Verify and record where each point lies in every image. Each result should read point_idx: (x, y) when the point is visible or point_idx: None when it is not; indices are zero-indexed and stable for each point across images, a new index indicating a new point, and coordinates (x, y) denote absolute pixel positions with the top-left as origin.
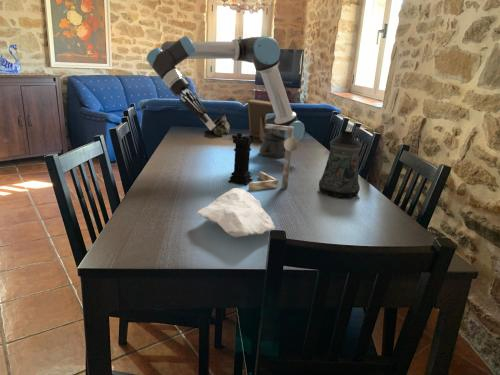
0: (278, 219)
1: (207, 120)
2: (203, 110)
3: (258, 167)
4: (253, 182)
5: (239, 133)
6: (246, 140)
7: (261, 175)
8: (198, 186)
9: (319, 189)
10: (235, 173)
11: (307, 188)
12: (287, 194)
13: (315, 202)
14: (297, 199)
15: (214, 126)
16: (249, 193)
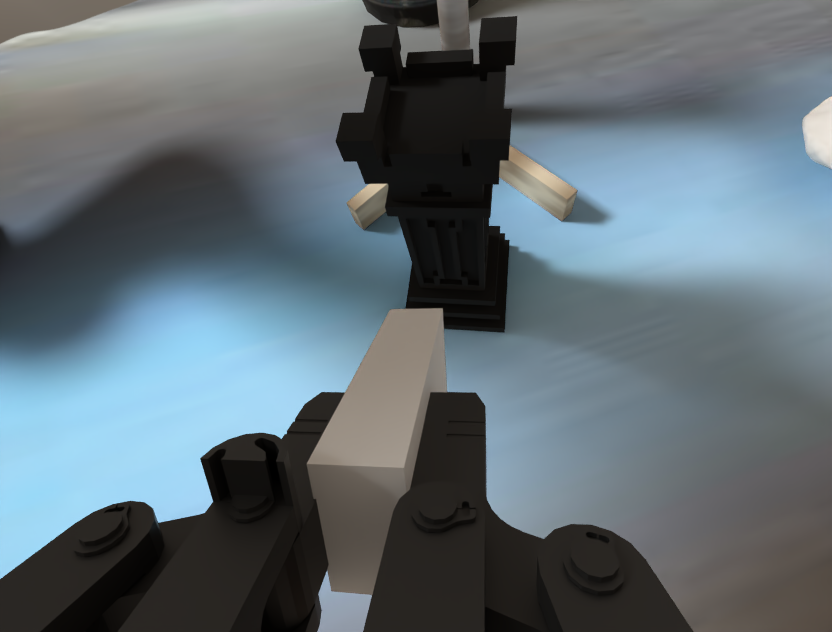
0: (823, 56)
1: (459, 399)
2: (228, 567)
3: (184, 275)
4: (552, 184)
5: (364, 125)
6: (505, 60)
7: (376, 203)
8: (661, 460)
9: (437, 17)
10: (486, 281)
11: None
12: (534, 91)
13: (569, 11)
14: (572, 55)
15: (441, 314)
16: (830, 111)
